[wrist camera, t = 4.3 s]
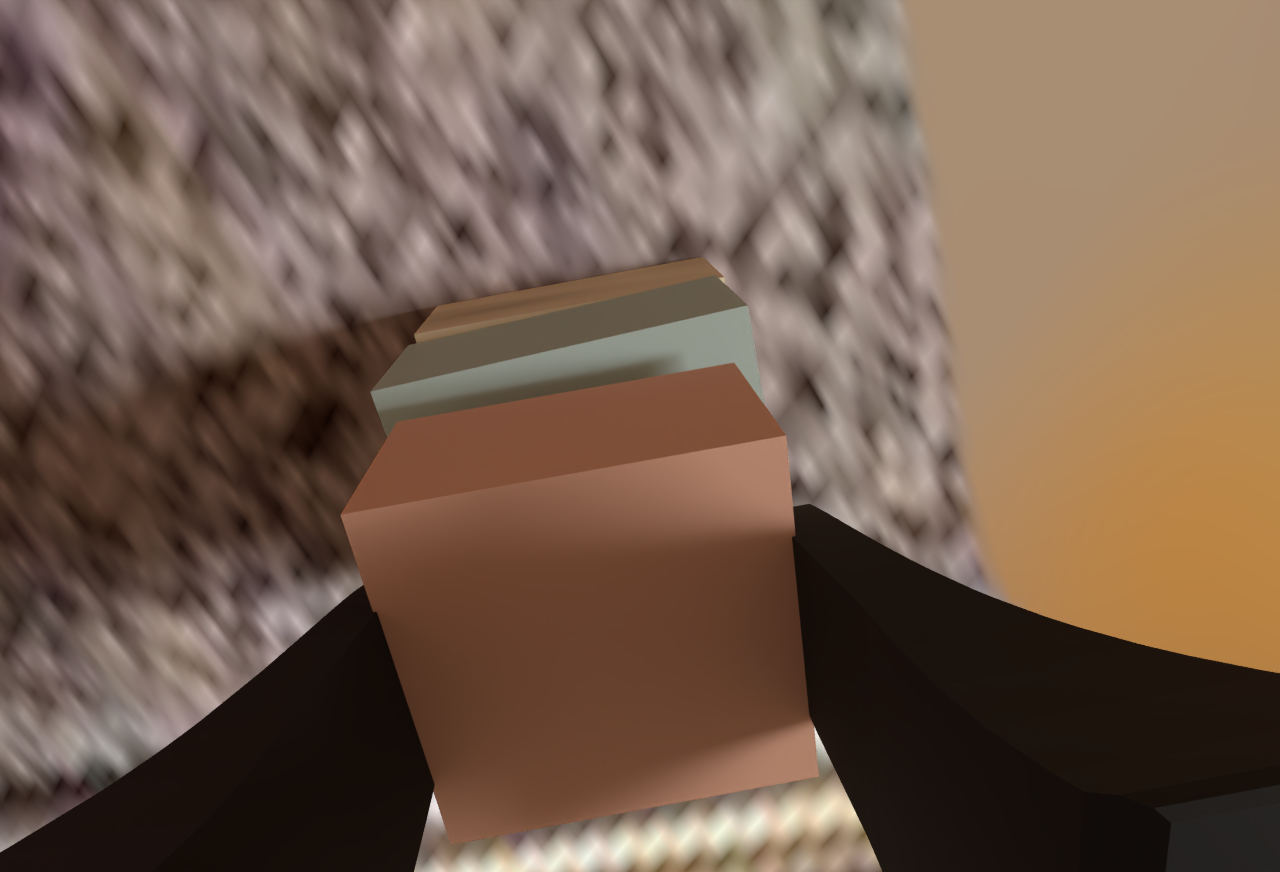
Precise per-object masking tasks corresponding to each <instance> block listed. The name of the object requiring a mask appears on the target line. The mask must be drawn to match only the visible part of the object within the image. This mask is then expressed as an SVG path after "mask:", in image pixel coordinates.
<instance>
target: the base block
mask: <svg viewBox="0 0 1280 872" xmlns="http://www.w3.org/2000/svg"><path fill="white" fill-rule="evenodd" d="M714 275H716V276H717V277H718V278H719V279H720V280H721V281H722V282H723V283H724V284H725V278H724V276H723V275H722V274H720V273H719V272H718V271H717V270H716V269H715V268H714V267H713V266H712V265H711V264H710V263H709V262H708V261H706V260H705V259H704V258H703V257H699V258H694V259H688V260H683V261H677V262H672V263H667V264H661V265H656V266H650V267H645V268H639V269H634V270H629V271H623V272H618V273H612V274H607V275H601V276H596V277H591V278H585V279H580V280H574V281H569V282H563V283H558V284H553V285H547V286H542V287H536V288H531V289H525V290H520V291H515V292H509V293H504V294H498V295H493V296H487V297H482V298H477V299H471V300H466V301H460V302H455V303H449V304H444V305H439V306H437V307H436V308H435V309H434V310H433V312H432V313H431V314H430V315H429V317H428V318H427V319H426V320H425V321H424V323H423V324H422V325H421V326H420V328H419V329H418V330H417V331H416V333H415V334H414V336H415V339H416V343H420V342H425V341H429V340H434V339H438V338H442V337H447V336H451V335H455V334H460V333H464V332H469V331H473V330H477V329H482V328H486V327H490V326H495V325H499V324H504V323H508V322H512V321H517V320H521V319H525V318H530V317H534V316H539V315H543V314H547V313H552V312H556V311H561V310H565V309H569V308H574V307H578V306H582V305H587V304H591V303H596V302H600V301H604V300H609V299H613V298H617V297H622V296H626V295H631V294H635V293H639V292H644V291H648V290H652V289H657V288H661V287H665V286H670V285H674V284H679V283H683V282H687V281H692V280H696V279H700V278H705V277H709V276H714Z"/></svg>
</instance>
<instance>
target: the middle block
mask: <svg viewBox="0 0 1280 872" xmlns="http://www.w3.org/2000/svg"><path fill="white" fill-rule="evenodd" d="M729 363H735V364H736V366H737V367H738V368H739V370H740V371H741V373H742V374H743V375H744V377H745V378H746V380H747V381H748V383H749V384H750V385H751V387H752V388H753V390H754V391H755V392H756V394H757V395H758V397H759V398H760V399H761V401H762V402H763V404H764V400H763V394H762V388H761V381H760V375H759V369H758V363H757V357H756V351H755V345H754V339H753V333H752V327H751V320H750V314H749V308H748V305H747V304H746V303H745V302H744V301H743V300H742V299H741V298H740V297H738V296H737V295H736V294H735V293H734V292H733V291H732V290H731V289H730V288H729V287H728V286H727V285H725V284H724V283H723V282H722V281H721V280H720V279H719V278H718V277H717V276H716V275H714V276H709V277H705V278H700V279H696V280H692V281H687V282H683V283H679V284H674V285H670V286H665V287H661V288H657V289H652V290H648V291H644V292H639V293H635V294H631V295H626V296H622V297H617V298H613V299H609V300H604V301H600V302H596V303H591V304H587V305H582V306H578V307H574V308H569V309H565V310H561V311H556V312H552V313H547V314H543V315H539V316H534V317H530V318H525V319H521V320H517V321H512V322H508V323H504V324H499V325H495V326H490V327H486V328H482V329H477V330H473V331H469V332H464V333H460V334H455V335H451V336H447V337H442V338H438V339H434V340H429V341H425V342H420V343H416V344H412V345H408V346H407V347H406V349H405V350H404V351H403V352H402V354H401V355H400V356H399V357H398V358H397V360H396V361H395V362H394V363H393V365H392V366H391V367H390V368H389V369H388V371H387V372H386V373H385V374H384V376H383V377H382V378H381V379H380V380H379V382H378V383H377V384H376V385H375V387H374V388H373V389H372V390H371V391H370V392H371V395H372V398H373V401H374V404H375V407H376V409H377V412H378V415H379V418H380V421H381V423H382V426H383V429H384V432H385V435H386V437H387V438H388V436H389V434H390V433H391V431H392V429H393V428H394V426H395V424H396V423H397V422H399V421H405V420H410V419H416V418H422V417H427V416H433V415H439V414H444V413H450V412H456V411H462V410H467V409H473V408H479V407H484V406H490V405H496V404H501V403H507V402H513V401H518V400H524V399H530V398H535V397H541V396H547V395H552V394H558V393H564V392H569V391H575V390H581V389H587V388H592V387H598V386H604V385H609V384H615V383H621V382H626V381H632V380H638V379H643V378H649V377H655V376H660V375H666V374H672V373H677V372H683V371H689V370H695V369H700V368H706V367H712V366H717V365H723V364H729Z"/></svg>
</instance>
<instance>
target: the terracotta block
mask: <svg viewBox="0 0 1280 872" xmlns="http://www.w3.org/2000/svg"><path fill="white" fill-rule="evenodd" d="M341 518H342V521H343V524H344V527H345V530H346V533H347V536H348V539H349V542H350V545H351V548H352V551H353V554H354V557H355V560H356V563H357V566H358V569H359V572H360V575H361V578H362V581H363V584H364V587H365V590H366V593H367V595H368V598H369V601H370V604H371V607H372V610H373V612H377V614H378V617H379V620H380V623H381V625H382V628H383V631H384V634H385V637H386V640H387V643H388V646H389V649H390V652H391V655H392V658H393V661H394V664H395V667H396V670H397V673H398V676H399V679H400V682H401V685H402V688H403V691H404V694H405V697H406V700H407V703H408V706H409V709H410V712H411V715H412V718H413V721H414V724H415V727H416V730H417V733H418V736H419V739H420V742H421V745H422V748H423V751H424V754H425V757H426V760H427V763H428V766H429V769H430V772H431V775H432V778H433V781H434V784H435V786H434V790H433V792H434V795H435V798H436V801H437V804H438V807H439V810H440V813H441V816H442V819H443V822H444V824H445V827H446V830H447V833H448V836H449V839H450V842H451V845H452V844H458V843H463V842H469V841H474V840H479V839H485V838H490V837H495V836H501V835H506V834H512V833H517V832H522V831H528V830H533V829H539V828H544V827H549V826H555V825H560V824H566V823H571V822H576V821H582V820H587V819H592V818H598V817H603V816H609V815H614V814H619V813H625V812H630V811H636V810H641V809H646V808H652V807H657V806H662V805H668V804H673V803H679V802H684V801H689V800H695V799H700V798H706V797H711V796H716V795H722V794H727V793H733V792H738V791H743V790H749V789H754V788H759V787H765V786H770V785H776V784H781V783H786V782H792V781H797V780H803V779H808V778H813V777H819V774H818V764H817V754H816V743H815V733H814V724H813V722H812V720H811V718H810V716H809V707H808V697H807V687H806V677H805V666H804V656H803V646H802V636H801V625H800V615H799V605H798V595H797V584H796V574H795V564H794V554H793V543H792V537H793V536H796V534H795V524H794V513H793V503H792V493H791V482H790V472H789V461H788V451H787V440H786V435H785V433H784V432H783V431H782V429H781V428H780V426H779V425H778V423H777V422H776V421H775V419H774V418H773V416H772V415H771V414H770V412H769V411H768V409H767V408H766V407H765V405H764V404H763V402H762V401H761V399H760V398H759V397H758V395H757V394H756V392H755V391H754V390H753V388H752V387H751V385H750V384H749V383H748V381H747V380H746V378H745V377H744V375H743V374H742V373H741V371H740V370H739V368H738V367H737V366H736V364H735V363H729V364H723V365H717V366H712V367H706V368H700V369H695V370H689V371H683V372H677V373H672V374H666V375H660V376H655V377H649V378H643V379H638V380H632V381H626V382H621V383H615V384H609V385H604V386H598V387H592V388H587V389H581V390H575V391H569V392H564V393H558V394H552V395H547V396H541V397H535V398H530V399H524V400H518V401H513V402H507V403H501V404H496V405H490V406H484V407H479V408H473V409H467V410H462V411H456V412H450V413H444V414H439V415H433V416H427V417H422V418H416V419H410V420H405V421H399V422H397V423H396V424H395V426H394V428H393V429H392V431H391V433H390V434H389V436H388V438H387V439H386V441H385V442H384V444H383V446H382V447H381V449H380V451H379V452H378V454H377V456H376V457H375V459H374V461H373V462H372V464H371V465H370V467H369V469H368V470H367V472H366V474H365V475H364V477H363V479H362V480H361V482H360V483H359V485H358V487H357V488H356V490H355V492H354V493H353V495H352V497H351V498H350V500H349V501H348V503H347V505H346V506H345V508H344V510H343V511H342V513H341Z"/></svg>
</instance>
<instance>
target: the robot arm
mask: <svg viewBox="0 0 1280 872" xmlns="http://www.w3.org/2000/svg"><path fill="white" fill-rule="evenodd" d="M793 513H794V524H795V534H796V536H793V537H792V543H793V554H794V564H795V574H796V584H797V595H798V605H799V615H800V625H801V636H802V646H803V656H804V666H805V677H806V687H807V697H808V707H809V716H810V718H811V720H812V722H813V724H814V727H815V729H816V731H817V733H818V735H819V737H820V739H821V741H822V743H823V745H824V747H825V750H826V752H827V754H828V756H829V758H830V760H831V762H832V764H833V766H834V768H835V770H836V772H837V774H838V776H839V779H840V781H841V783H842V785H843V787H844V789H845V791H846V793H847V795H848V797H849V799H850V801H851V803H852V805H853V808H854V810H855V812H856V814H857V816H858V818H859V820H860V822H861V824H862V826H863V828H864V830H865V832H866V834H867V836H868V839H869V841H870V843H871V846H872V848H873V850H874V853H875V855H876V857H877V860H878V862H879V864H880V867H881V869H882V871H883V872H1280V673H1274V672H1269V671H1263V670H1257V669H1253V668H1248V667H1243V666H1237V665H1233V664H1227V663H1223V662H1218V661H1213V660H1207V659H1202V658H1197V657H1192V656H1188V655H1183V654H1179V653H1175V652H1170V651H1166V650H1162V649H1158V648H1153V647H1149V646H1145V645H1141V644H1137V643H1133V642H1130V641H1126V640H1123V639H1119V638H1115V637H1112V636H1108V635H1105V634H1101V633H1097V632H1094V631H1090V630H1086V629H1083V628H1079V627H1076V626H1073V625H1070V624H1067V623H1063V622H1060V621H1057V620H1054V619H1051V618H1048V617H1045V616H1042V615H1039V614H1037V613H1034V612H1031V611H1028V610H1026V609H1023V608H1020V607H1017V606H1015V605H1012V604H1009V603H1007V602H1004V601H1001V600H998V599H996V598H993V597H991V596H988V595H986V594H983V593H981V592H978V591H976V590H974V589H971V588H969V587H967V586H965V585H962V584H960V583H958V582H956V581H954V580H952V579H949V578H947V577H945V576H943V575H941V574H939V573H936V572H934V571H932V570H930V569H928V568H926V567H924V566H922V565H920V564H918V563H916V562H914V561H912V560H910V559H908V558H906V557H904V556H902V555H900V554H898V553H897V552H895V551H893V550H891V549H889V548H887V547H885V546H884V545H882V544H880V543H878V542H876V541H875V540H873V539H871V538H869V537H868V536H866V535H864V534H862V533H861V532H859V531H857V530H855V529H854V528H852V527H850V526H848V525H847V524H845V523H843V522H841V521H840V520H838V519H836V518H835V517H833V516H831V515H829V514H828V513H826V512H824V511H822V510H820V509H819V508H817V507H815V506H813V505H811V504H806V505H800V506H795V507H793ZM434 786H435V784H434V781H433V778H432V775H431V772H430V769H429V766H428V763H427V760H426V757H425V754H424V751H423V748H422V745H421V742H420V739H419V736H418V733H417V730H416V727H415V724H414V721H413V718H412V715H411V712H410V709H409V706H408V703H407V700H406V697H405V694H404V691H403V688H402V685H401V682H400V679H399V676H398V673H397V670H396V667H395V664H394V661H393V658H392V655H391V652H390V649H389V646H388V643H387V640H386V637H385V634H384V631H383V628H382V625H381V623H380V620H379V617H378V614H377V612H373V610H372V607H371V604H370V601H369V598H368V595H367V593H366V590H365V587H364V585H363V586H361V587H360V588H359V589H357V590H356V591H354V592H353V593H352V594H350V595H349V596H348V597H347V598H346V599H344V600H343V601H342V602H341V603H340V604H338V605H337V606H336V607H335V608H334V609H333V610H331V611H330V612H329V613H328V614H327V615H326V616H324V617H323V618H322V619H321V620H320V621H319V622H318V623H317V624H315V625H314V626H313V627H312V628H311V629H310V630H309V631H307V632H306V633H305V634H304V635H303V636H302V637H301V638H299V639H298V640H297V641H296V642H295V643H294V644H293V645H291V646H290V647H289V648H288V649H287V650H286V651H285V652H283V653H282V654H281V655H280V656H279V657H278V658H277V659H275V660H274V661H273V662H272V663H271V664H270V665H269V666H267V667H266V668H265V669H264V670H263V671H261V672H260V673H259V674H258V675H257V676H255V677H254V678H253V679H252V680H250V681H249V682H248V683H247V684H245V685H244V686H243V687H242V688H241V689H239V690H238V691H237V692H236V693H234V694H233V695H232V696H231V697H229V698H228V699H227V700H226V701H224V702H223V703H222V704H221V705H220V706H218V707H217V708H216V709H215V710H213V711H212V712H211V713H210V714H208V715H207V716H206V717H205V718H204V719H202V720H201V721H200V722H198V723H197V724H196V725H195V726H193V727H192V728H191V729H189V730H188V731H187V732H185V733H184V734H183V735H181V736H180V737H179V738H177V739H176V740H174V741H173V742H172V743H170V744H169V745H168V746H166V747H165V748H163V749H162V750H161V751H159V752H158V753H156V754H155V755H154V756H152V757H151V758H149V759H148V760H146V761H145V762H143V763H142V764H140V765H139V766H138V767H136V768H135V769H133V770H132V771H130V772H129V773H127V774H126V775H125V776H123V777H122V778H120V779H119V780H117V781H116V782H114V783H113V784H111V785H110V786H108V787H107V788H105V789H104V790H102V791H101V792H99V793H97V794H96V795H94V796H93V797H91V798H89V799H88V800H86V801H84V802H83V803H81V804H79V805H78V806H76V807H74V808H73V809H71V810H70V811H68V812H66V813H65V814H63V815H61V816H60V817H58V818H56V819H55V820H53V821H51V822H50V823H48V824H47V825H45V826H43V827H42V828H40V829H38V830H37V831H35V832H33V833H32V834H30V835H29V836H27V837H25V838H24V839H22V840H20V841H19V842H17V843H15V844H14V845H12V846H10V847H9V848H7V849H5V850H4V851H2V852H0V872H414V869H415V865H416V861H417V857H418V853H419V849H420V844H421V840H422V836H423V832H424V828H425V824H426V820H427V816H428V811H429V807H430V803H431V799H432V794H433V790H434Z"/></svg>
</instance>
